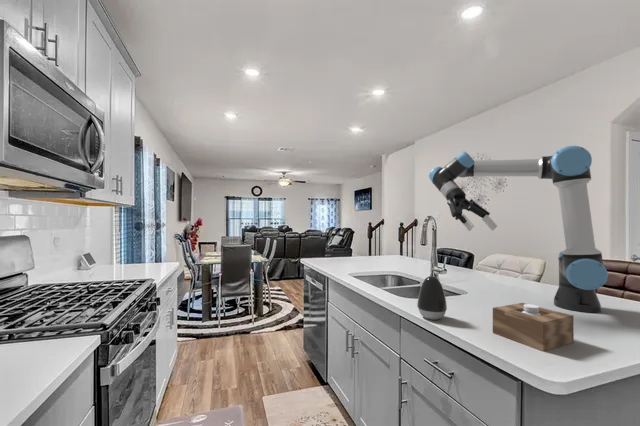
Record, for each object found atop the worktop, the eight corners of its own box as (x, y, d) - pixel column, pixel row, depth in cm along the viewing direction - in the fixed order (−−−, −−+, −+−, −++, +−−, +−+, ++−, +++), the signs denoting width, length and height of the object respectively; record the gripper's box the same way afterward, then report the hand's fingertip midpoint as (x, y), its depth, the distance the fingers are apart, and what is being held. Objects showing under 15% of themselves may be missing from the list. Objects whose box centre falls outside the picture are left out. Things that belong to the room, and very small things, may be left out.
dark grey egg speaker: (445, 314, 117) (446, 274, 118) (447, 323, 108) (447, 279, 108) (417, 312, 121) (417, 272, 121) (416, 320, 111) (417, 277, 111)
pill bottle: (516, 334, 98) (516, 303, 98) (532, 333, 99) (532, 303, 99) (529, 341, 93) (529, 308, 93) (546, 340, 93) (546, 308, 93)
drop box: (522, 326, 106) (522, 302, 106) (573, 342, 92) (573, 315, 92) (492, 332, 99) (492, 307, 99) (543, 351, 86) (542, 322, 86)
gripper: (467, 200, 146) (497, 234, 132) (427, 198, 135) (455, 235, 122) (477, 188, 141) (510, 221, 127) (436, 185, 131) (467, 221, 117)
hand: (483, 228), depth 124 cm, fingers open, 13 cm apart
